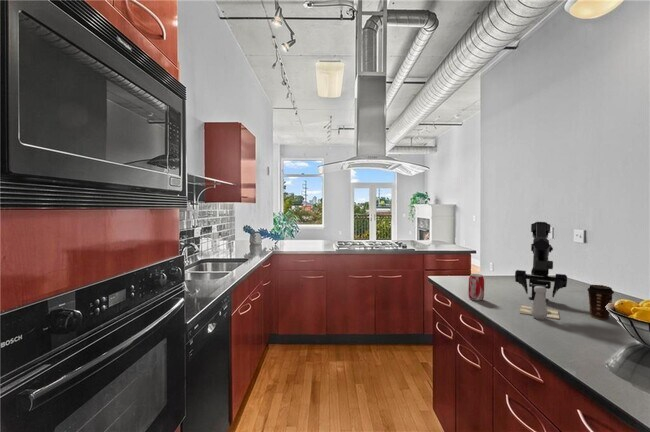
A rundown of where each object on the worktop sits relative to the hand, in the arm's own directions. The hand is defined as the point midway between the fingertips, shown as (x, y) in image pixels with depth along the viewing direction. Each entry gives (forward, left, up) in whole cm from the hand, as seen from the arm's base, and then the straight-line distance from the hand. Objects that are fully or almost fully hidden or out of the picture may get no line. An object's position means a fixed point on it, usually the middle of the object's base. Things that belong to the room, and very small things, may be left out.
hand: (539, 295), depth 145 cm
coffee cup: (-23, +12, -9) cm, 27 cm away
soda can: (0, -30, -9) cm, 32 cm away
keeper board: (-7, -4, -9) cm, 12 cm away
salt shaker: (+1, +1, -9) cm, 9 cm away
